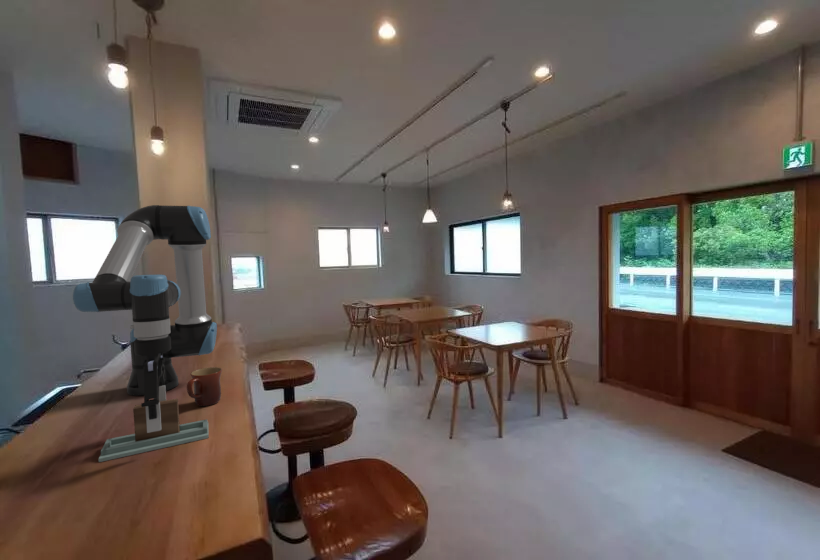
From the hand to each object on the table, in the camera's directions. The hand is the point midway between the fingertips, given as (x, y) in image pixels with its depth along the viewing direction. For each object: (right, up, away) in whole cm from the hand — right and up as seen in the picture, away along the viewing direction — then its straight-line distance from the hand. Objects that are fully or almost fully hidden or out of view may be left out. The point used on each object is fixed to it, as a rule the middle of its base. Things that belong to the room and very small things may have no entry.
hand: (157, 420), depth 93 cm
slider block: (0, -5, 0) cm, 5 cm away
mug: (-1, -4, +23) cm, 24 cm away
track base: (0, -6, 0) cm, 6 cm away
